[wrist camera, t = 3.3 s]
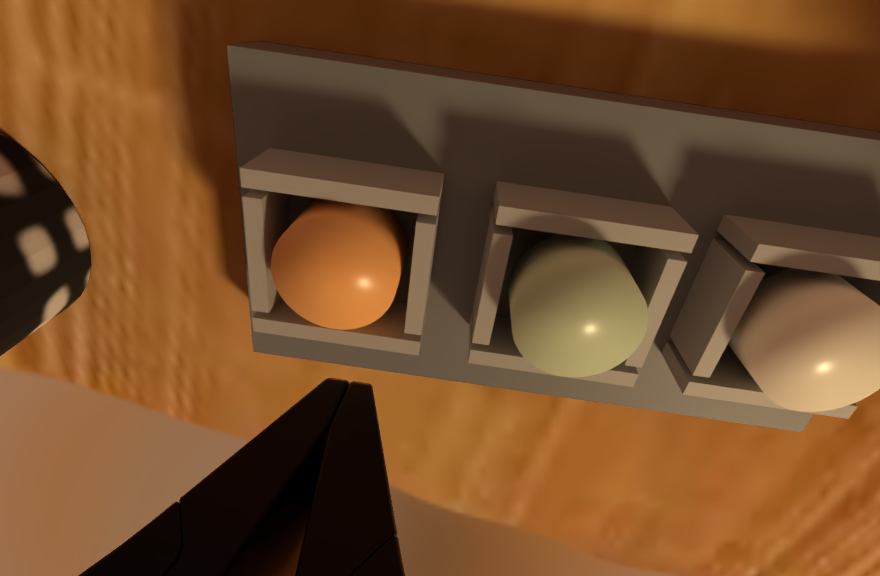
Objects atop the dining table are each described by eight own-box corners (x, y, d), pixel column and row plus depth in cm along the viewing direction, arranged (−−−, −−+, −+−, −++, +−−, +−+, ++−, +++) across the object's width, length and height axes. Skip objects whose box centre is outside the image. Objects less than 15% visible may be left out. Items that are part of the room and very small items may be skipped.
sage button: (644, 242, 13) (668, 277, 12) (607, 342, 15) (623, 385, 13) (521, 224, 13) (527, 256, 12) (498, 325, 15) (500, 367, 13)
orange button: (412, 200, 14) (402, 227, 12) (401, 300, 16) (391, 337, 14) (294, 183, 14) (267, 208, 12) (297, 285, 16) (273, 319, 14)
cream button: (879, 277, 13) (939, 317, 12) (815, 372, 15) (859, 420, 13) (756, 259, 13) (798, 296, 12) (706, 356, 15) (736, 402, 13)
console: (933, 139, 14) (1079, 181, 11) (772, 394, 19) (836, 478, 16) (257, 40, 14) (185, 50, 11) (274, 320, 19) (228, 389, 16)
